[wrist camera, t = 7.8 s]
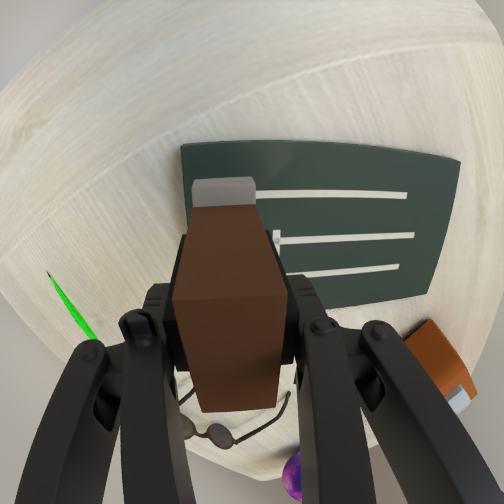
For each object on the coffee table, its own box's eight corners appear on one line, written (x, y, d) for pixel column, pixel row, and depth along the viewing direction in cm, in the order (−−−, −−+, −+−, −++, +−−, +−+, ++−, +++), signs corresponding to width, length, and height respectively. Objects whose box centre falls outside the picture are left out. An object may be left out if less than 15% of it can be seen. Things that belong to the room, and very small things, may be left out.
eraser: (193, 179, 14) (164, 266, 6) (252, 176, 14) (290, 258, 7) (206, 303, 18) (205, 423, 10) (253, 300, 18) (274, 418, 10)
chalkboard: (453, 159, 22) (461, 162, 21) (421, 288, 29) (426, 294, 28) (182, 144, 19) (180, 146, 18) (200, 312, 27) (200, 320, 26)
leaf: (110, 358, 30) (108, 363, 29) (45, 269, 23) (41, 273, 22) (115, 357, 30) (114, 362, 29) (50, 266, 23) (46, 271, 22)
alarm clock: (382, 351, 34) (415, 415, 24) (427, 313, 32) (470, 372, 22) (425, 385, 44) (447, 426, 34) (456, 360, 41) (481, 399, 32)
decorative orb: (311, 432, 45) (327, 496, 32) (354, 435, 51) (371, 487, 37) (264, 456, 50) (273, 512, 37) (309, 459, 56) (320, 506, 42)
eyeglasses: (157, 406, 35) (154, 434, 31) (208, 360, 31) (208, 394, 26) (235, 429, 41) (237, 454, 37) (296, 391, 36) (303, 420, 32)
